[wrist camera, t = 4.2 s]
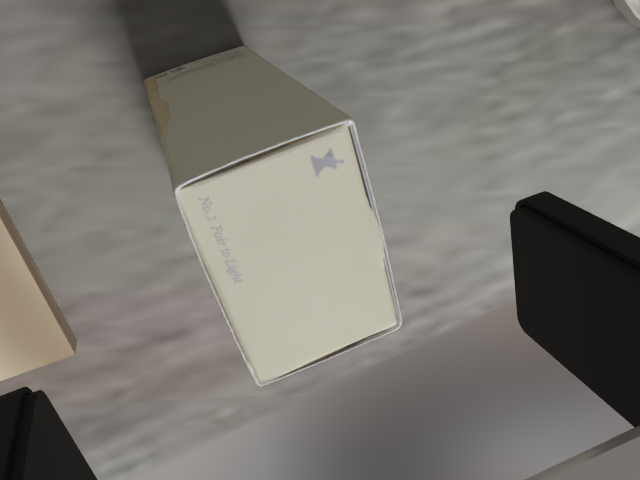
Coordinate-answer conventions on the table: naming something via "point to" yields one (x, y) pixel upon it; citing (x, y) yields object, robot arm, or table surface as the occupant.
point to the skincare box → (275, 210)
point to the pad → (27, 310)
